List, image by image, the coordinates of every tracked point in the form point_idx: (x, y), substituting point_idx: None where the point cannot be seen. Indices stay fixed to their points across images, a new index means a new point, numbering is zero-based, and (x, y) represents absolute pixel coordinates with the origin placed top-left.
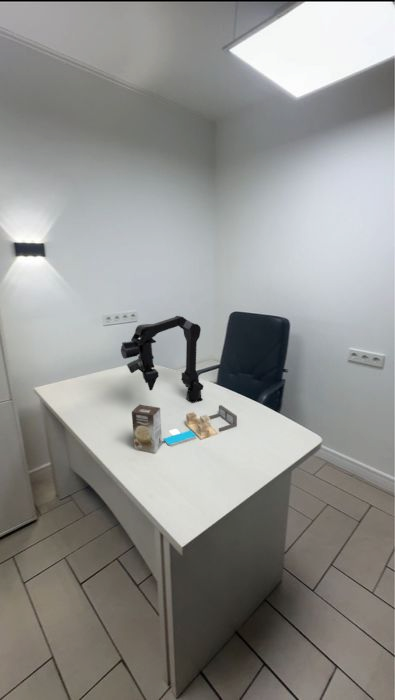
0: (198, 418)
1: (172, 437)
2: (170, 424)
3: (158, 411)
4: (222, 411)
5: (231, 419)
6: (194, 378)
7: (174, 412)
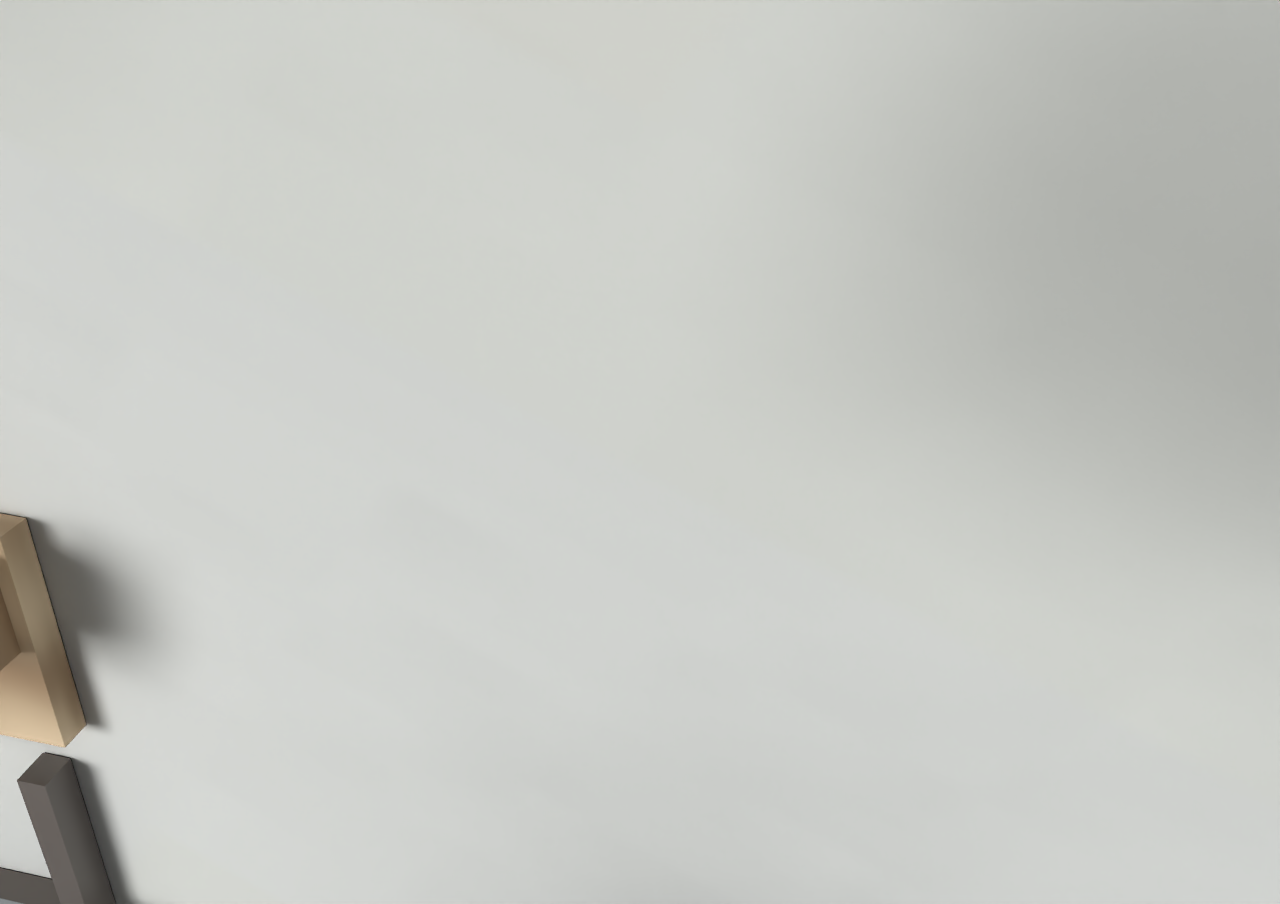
0: (53, 718)
1: None
2: (98, 361)
3: None
4: None
5: None
6: None
7: (458, 616)
